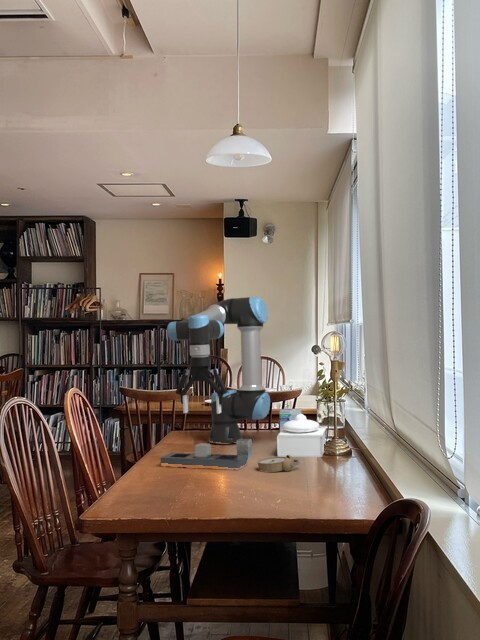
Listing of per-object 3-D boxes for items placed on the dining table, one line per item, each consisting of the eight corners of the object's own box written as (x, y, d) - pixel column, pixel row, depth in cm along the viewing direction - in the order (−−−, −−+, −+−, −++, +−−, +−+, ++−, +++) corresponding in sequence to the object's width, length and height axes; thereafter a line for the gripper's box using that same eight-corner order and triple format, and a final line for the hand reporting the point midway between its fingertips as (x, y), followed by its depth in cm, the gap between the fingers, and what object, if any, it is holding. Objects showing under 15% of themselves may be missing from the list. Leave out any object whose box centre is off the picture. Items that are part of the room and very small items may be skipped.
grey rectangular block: (200, 464, 235) (199, 443, 235) (211, 465, 234) (210, 443, 234) (195, 467, 231) (194, 445, 231) (206, 467, 229) (206, 445, 230)
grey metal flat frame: (172, 461, 242) (171, 452, 242) (247, 464, 232) (246, 455, 232) (160, 466, 233) (160, 457, 233) (238, 470, 223) (237, 460, 223)
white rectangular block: (241, 459, 243) (240, 438, 243) (252, 459, 241) (251, 438, 241) (237, 461, 238) (236, 440, 239) (248, 462, 237) (247, 440, 237)
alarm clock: (259, 458, 230) (298, 450, 227) (262, 471, 230) (301, 464, 227) (254, 464, 219) (296, 457, 216) (257, 478, 219) (299, 471, 216)
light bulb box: (279, 432, 301) (278, 410, 301) (281, 430, 308) (280, 408, 308) (301, 432, 299) (301, 410, 300) (302, 430, 306) (302, 408, 306)
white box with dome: (283, 448, 262) (282, 410, 262) (326, 448, 258) (325, 410, 258) (277, 457, 245) (275, 416, 245) (323, 457, 241) (321, 416, 241)
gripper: (165, 357, 234) (167, 414, 234) (227, 356, 225) (229, 414, 225) (174, 356, 241) (176, 411, 241) (234, 354, 233) (236, 411, 232)
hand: (202, 413), depth 233 cm, fingers open, 13 cm apart
